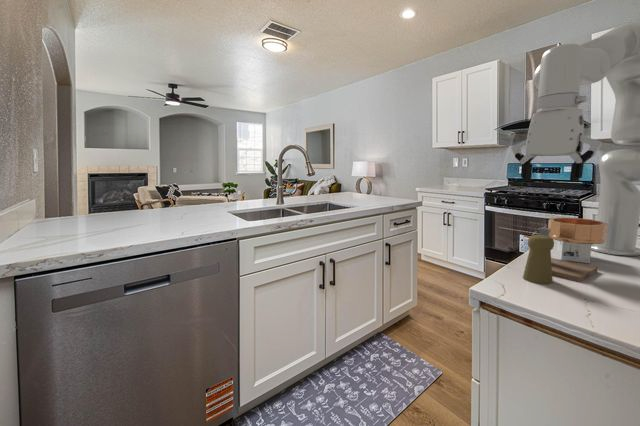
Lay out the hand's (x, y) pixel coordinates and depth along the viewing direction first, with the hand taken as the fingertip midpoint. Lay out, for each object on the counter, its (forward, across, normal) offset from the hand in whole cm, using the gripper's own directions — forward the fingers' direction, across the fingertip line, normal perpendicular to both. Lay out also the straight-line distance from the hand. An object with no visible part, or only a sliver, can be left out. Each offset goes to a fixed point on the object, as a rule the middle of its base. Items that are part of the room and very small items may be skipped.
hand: (549, 180), depth 73 cm
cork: (+24, 0, 0) cm, 24 cm away
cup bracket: (+24, -2, -11) cm, 27 cm away
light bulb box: (+24, +2, -28) cm, 36 cm away
